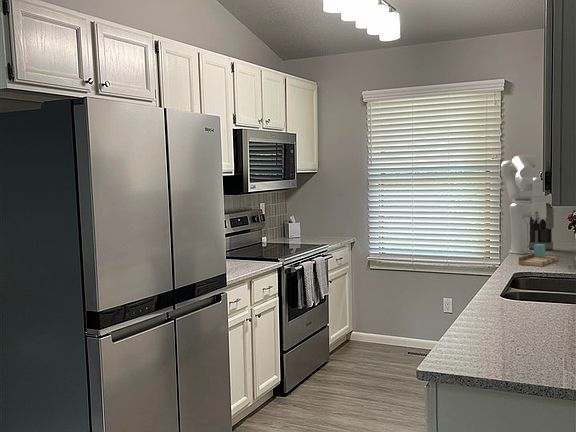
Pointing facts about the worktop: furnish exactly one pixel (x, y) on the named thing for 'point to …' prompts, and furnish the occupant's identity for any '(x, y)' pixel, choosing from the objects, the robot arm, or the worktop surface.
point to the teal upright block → (539, 250)
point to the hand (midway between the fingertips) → (539, 229)
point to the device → (543, 231)
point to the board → (535, 260)
